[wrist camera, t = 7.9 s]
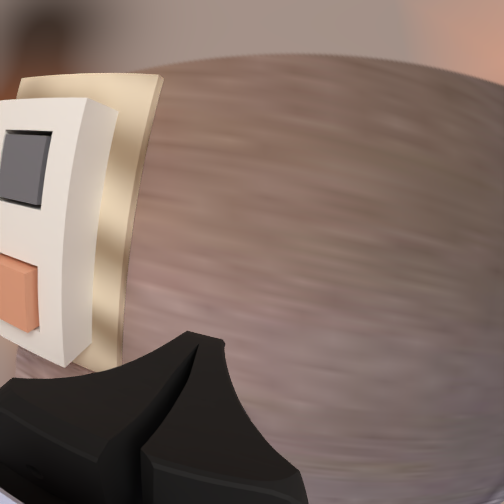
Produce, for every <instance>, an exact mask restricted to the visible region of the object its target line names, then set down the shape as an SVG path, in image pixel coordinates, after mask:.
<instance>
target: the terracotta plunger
mask: <svg viewBox="0 0 504 504" xmlns="http://www.w3.org/2000/svg"><path fill="white" fill-rule="evenodd" d="M0 319H1V320H3V321H5V322H7V323H9V324H11V325H13V326H15V327H17V328H19V329H21V330H23V331H25V332H27V333H29V332H30V331H32V330H33V329H35V328H36V327H38V326H39V308H38V266H35V265H32V264H30V263H27V262H24V261H21V260H19V259H16V258H13V257H11V256H8V255H5V254H3V253H1V254H0Z"/></svg>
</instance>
